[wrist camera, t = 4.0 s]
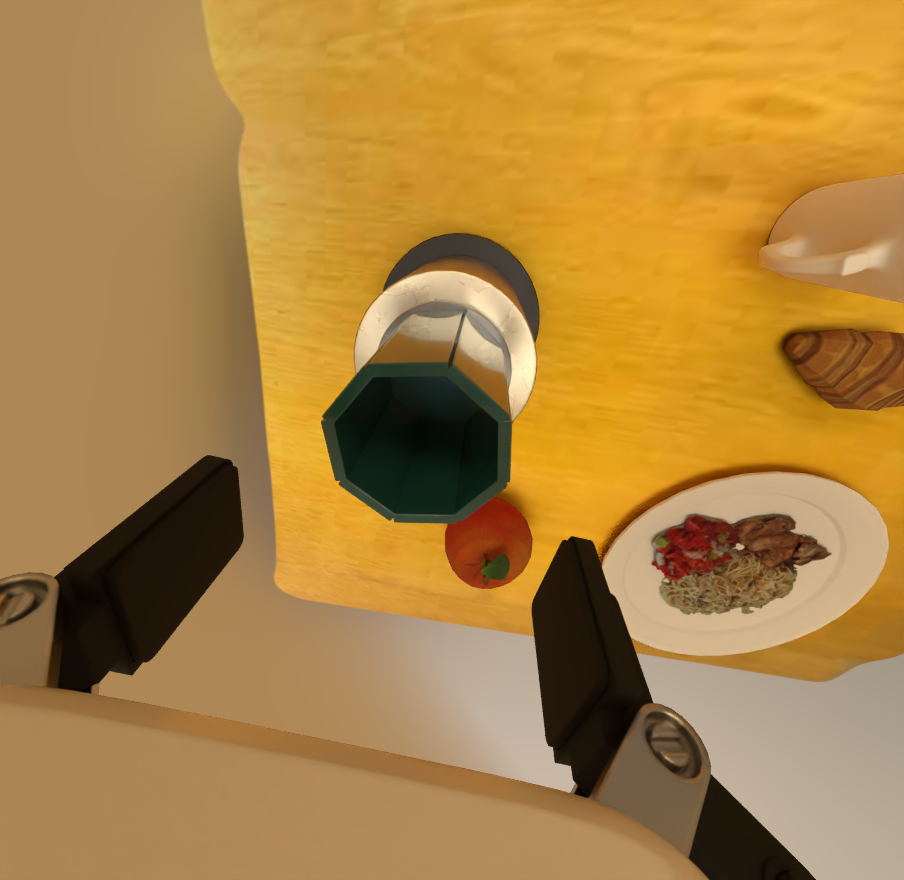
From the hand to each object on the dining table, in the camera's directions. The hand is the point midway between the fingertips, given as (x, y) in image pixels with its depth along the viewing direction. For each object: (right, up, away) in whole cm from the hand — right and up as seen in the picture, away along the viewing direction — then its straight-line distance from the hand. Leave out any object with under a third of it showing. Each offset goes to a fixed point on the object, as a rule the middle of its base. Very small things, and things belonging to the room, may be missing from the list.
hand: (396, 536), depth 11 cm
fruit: (+6, -6, +34) cm, 35 cm away
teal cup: (+1, +7, +11) cm, 13 cm away
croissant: (+36, +9, +22) cm, 44 cm away
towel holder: (+2, +13, +23) cm, 27 cm away
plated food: (+35, -13, +35) cm, 51 cm away
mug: (+27, +18, +18) cm, 38 cm away
